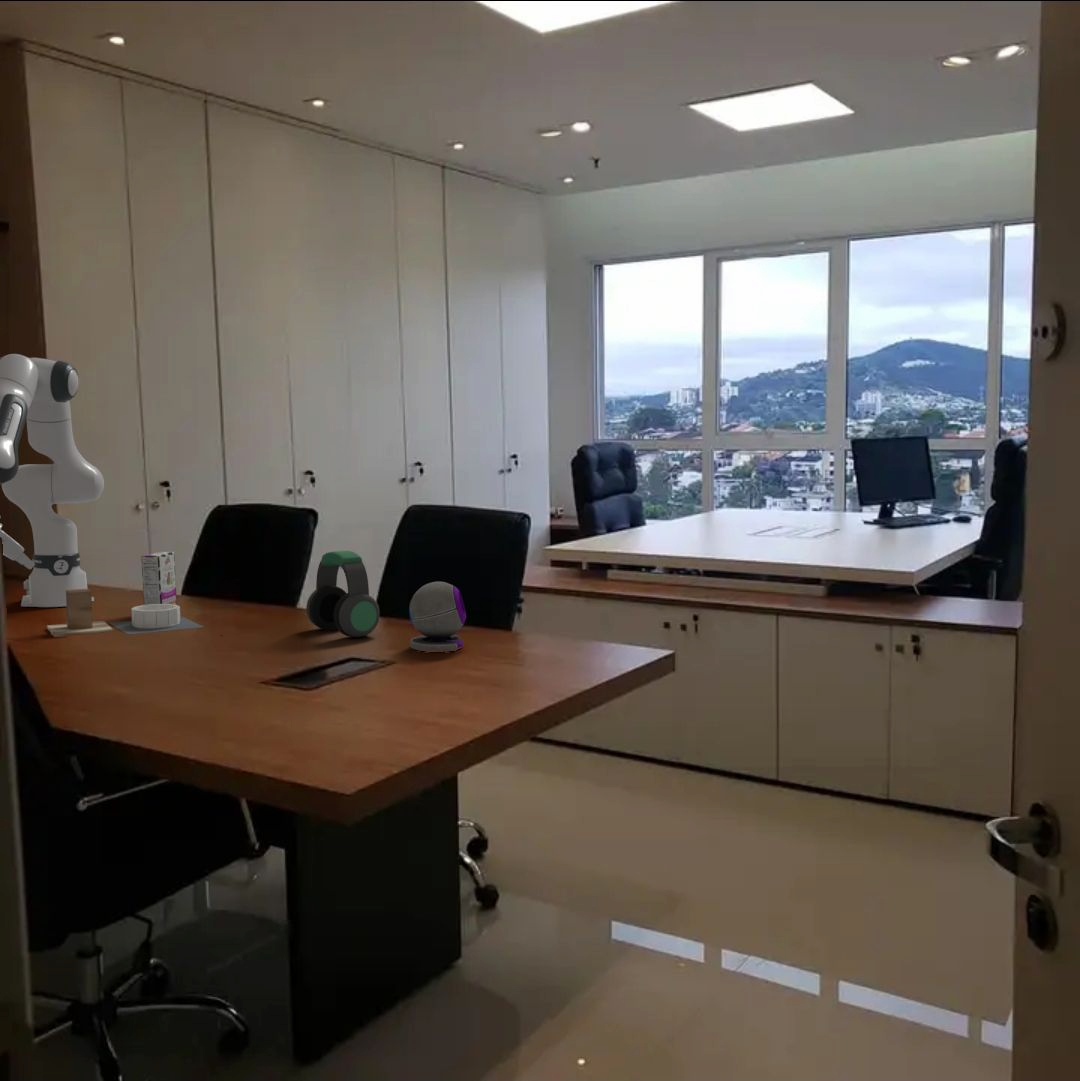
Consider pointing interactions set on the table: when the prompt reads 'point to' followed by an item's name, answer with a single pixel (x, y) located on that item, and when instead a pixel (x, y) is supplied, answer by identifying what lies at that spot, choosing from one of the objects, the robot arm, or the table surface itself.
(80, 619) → the lid
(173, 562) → the candy bar box
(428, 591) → the webcam
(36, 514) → the robot arm
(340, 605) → the headphones
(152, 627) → the bowl
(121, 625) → the mat
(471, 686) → the table surface
